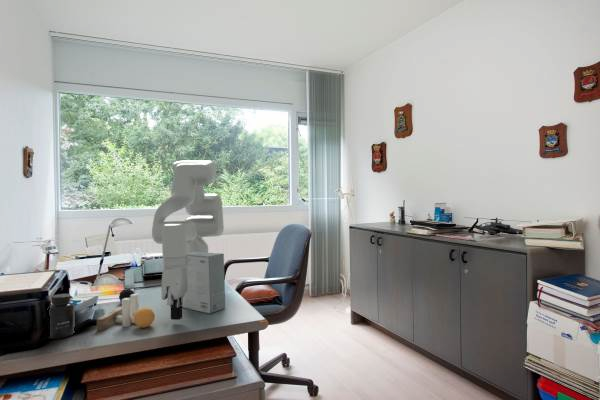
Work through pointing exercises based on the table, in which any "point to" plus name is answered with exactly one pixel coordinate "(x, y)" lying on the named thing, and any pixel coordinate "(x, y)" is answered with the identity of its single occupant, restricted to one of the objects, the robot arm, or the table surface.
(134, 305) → the back right pin
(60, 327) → the supplement bottle
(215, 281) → the hard drive box
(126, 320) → the back left pin
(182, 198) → the robot arm
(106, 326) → the backstop wall
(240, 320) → the table surface
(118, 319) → the front pin
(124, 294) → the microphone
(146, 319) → the ball
